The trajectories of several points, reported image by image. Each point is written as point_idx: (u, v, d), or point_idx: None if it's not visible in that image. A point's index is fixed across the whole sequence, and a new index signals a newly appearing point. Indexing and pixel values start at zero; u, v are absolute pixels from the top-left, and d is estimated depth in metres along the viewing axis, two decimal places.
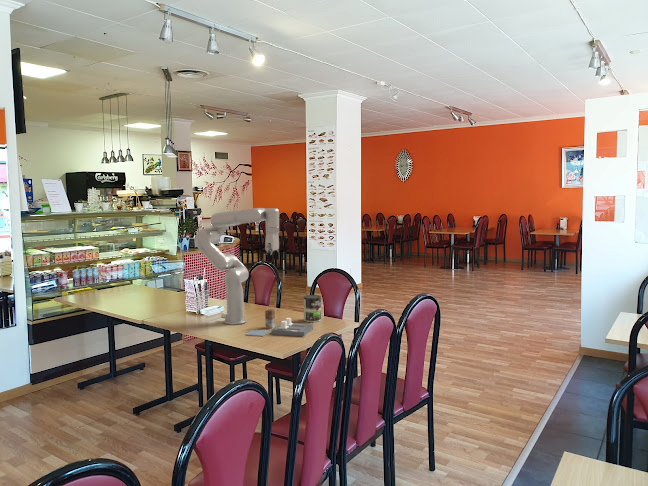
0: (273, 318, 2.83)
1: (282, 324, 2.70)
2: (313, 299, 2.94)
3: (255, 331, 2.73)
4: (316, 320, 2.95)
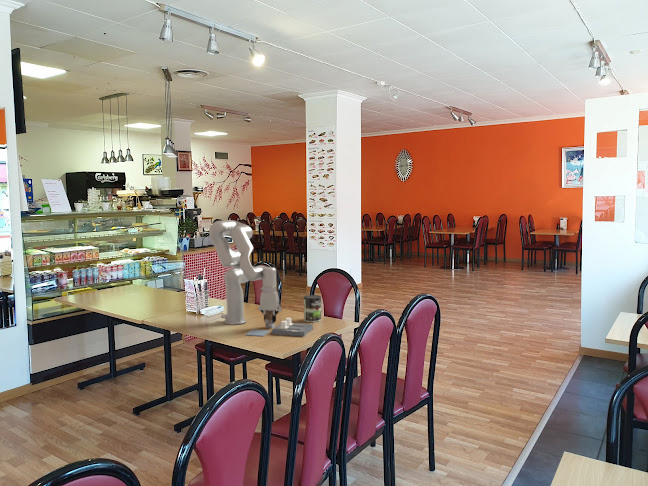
0: None
1: (282, 324, 2.70)
2: (313, 299, 2.94)
3: (255, 331, 2.73)
4: (316, 320, 2.95)
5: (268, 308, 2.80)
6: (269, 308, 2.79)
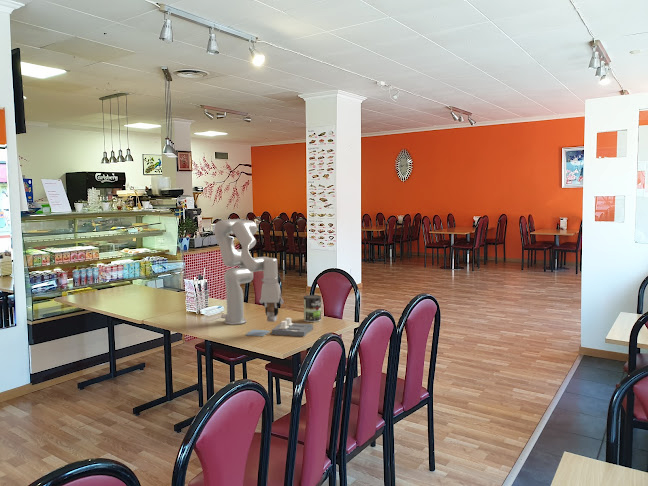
0: None
1: (282, 324, 2.70)
2: (313, 299, 2.94)
3: (255, 331, 2.73)
4: (316, 320, 2.95)
5: (270, 300, 2.69)
6: (271, 300, 2.69)
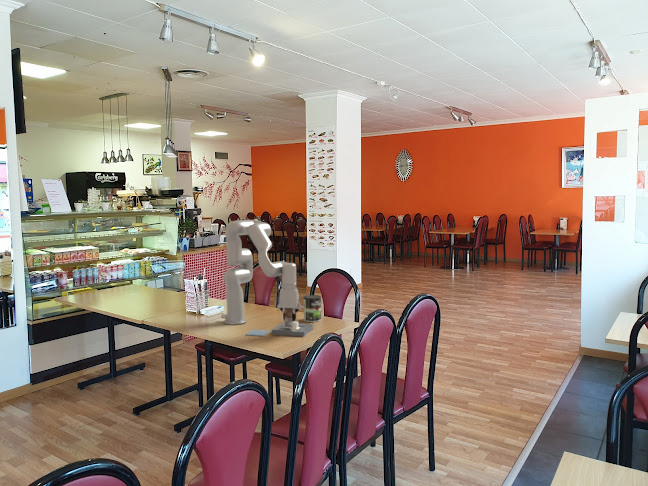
0: None
1: (294, 325, 2.68)
2: (313, 299, 2.94)
3: (255, 331, 2.73)
4: (316, 320, 2.95)
5: (288, 306, 2.67)
6: (289, 306, 2.67)
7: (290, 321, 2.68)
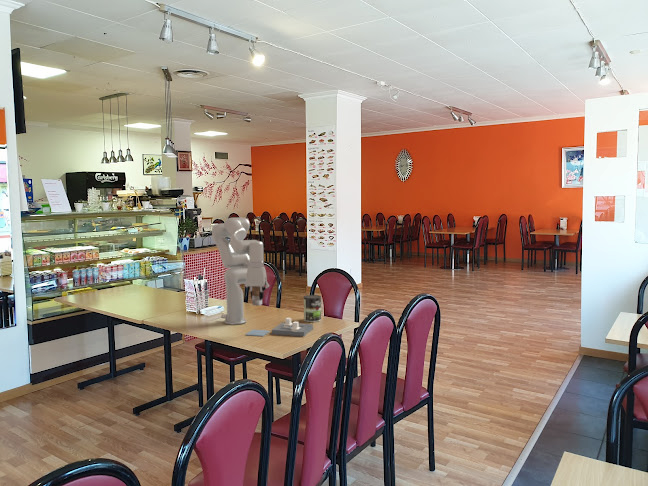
0: None
1: (294, 325, 2.68)
2: (313, 299, 2.94)
3: (255, 331, 2.73)
4: (316, 320, 2.95)
5: (255, 284, 2.66)
6: (256, 284, 2.66)
7: (257, 299, 2.67)
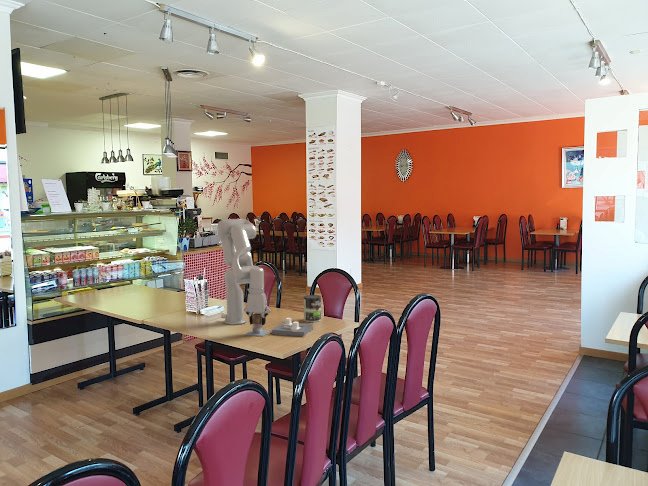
0: (261, 323, 2.71)
1: (294, 325, 2.68)
2: (313, 299, 2.94)
3: None
4: (316, 320, 2.95)
5: (255, 310, 2.68)
6: (256, 310, 2.67)
7: (258, 327, 2.69)
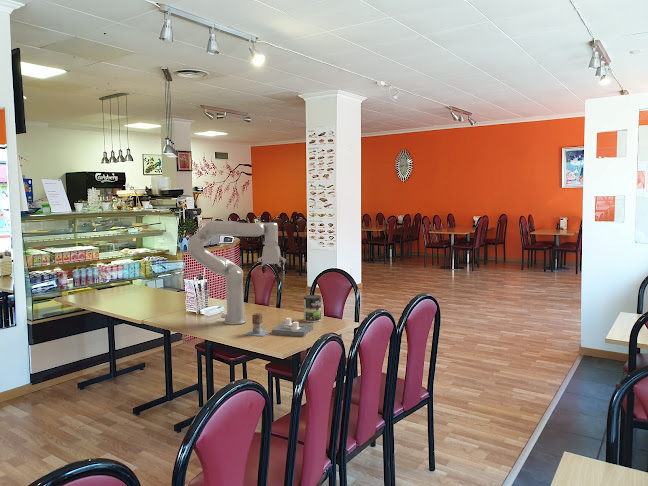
0: (261, 323, 2.71)
1: (294, 325, 2.68)
2: (313, 299, 2.94)
3: None
4: (316, 320, 2.95)
5: (270, 261, 2.92)
6: (271, 261, 2.92)
7: (258, 327, 2.69)
